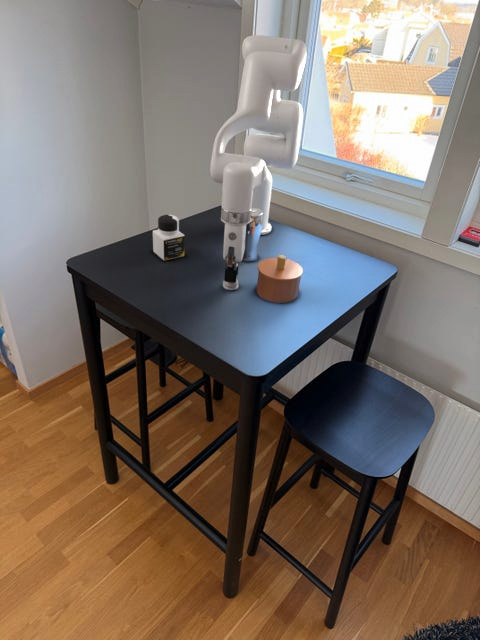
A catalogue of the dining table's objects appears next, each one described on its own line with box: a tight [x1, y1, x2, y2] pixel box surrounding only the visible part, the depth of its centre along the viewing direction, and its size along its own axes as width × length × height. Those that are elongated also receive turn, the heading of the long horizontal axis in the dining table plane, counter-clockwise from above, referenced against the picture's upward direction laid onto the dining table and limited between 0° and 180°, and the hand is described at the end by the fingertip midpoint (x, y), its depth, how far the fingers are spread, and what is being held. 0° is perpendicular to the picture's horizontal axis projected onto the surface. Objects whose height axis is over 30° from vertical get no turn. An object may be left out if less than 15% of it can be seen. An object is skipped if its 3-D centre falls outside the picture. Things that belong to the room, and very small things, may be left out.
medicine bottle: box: [152, 214, 186, 262], centre depth 140 cm, size 7×7×12 cm
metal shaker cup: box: [241, 207, 263, 262], centre depth 142 cm, size 7×7×15 cm
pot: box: [256, 271, 302, 304], centre depth 128 cm, size 11×11×7 cm
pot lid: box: [257, 254, 304, 281], centre depth 125 cm, size 12×12×4 cm
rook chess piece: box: [222, 262, 239, 292], centre depth 128 cm, size 4×4×8 cm
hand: (231, 277), depth 128 cm, fingers closed on rook chess piece, 3 cm apart
